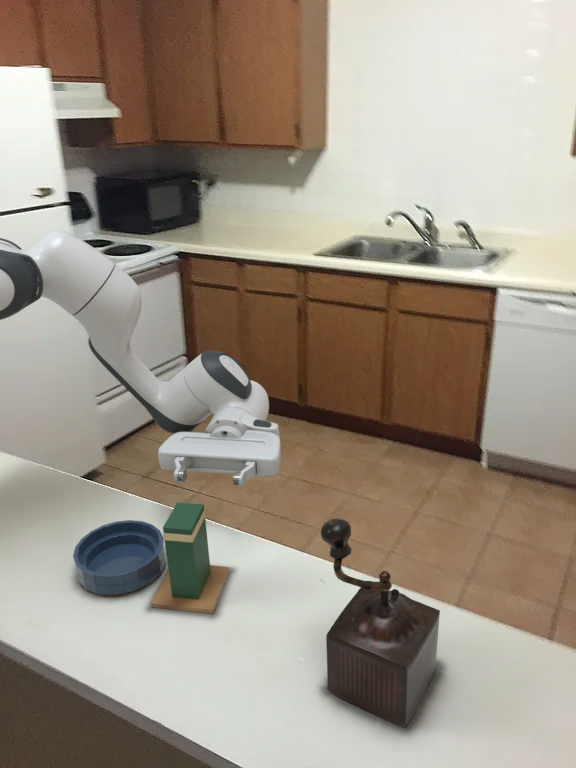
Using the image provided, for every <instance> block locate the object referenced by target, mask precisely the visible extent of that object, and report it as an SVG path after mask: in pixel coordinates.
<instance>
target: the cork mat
mask: <svg viewBox="0 0 576 768" xmlns="http://www.w3.org/2000/svg"><path fill="white" fill-rule="evenodd" d="M210 570H211V572H210V574H209V577H208V579H207V581H206V584H205V586H204V589H203V591H202V593H201V596H200V598H199V599H190V598H180V597H172V592H171V584H170V577H169V569H167V570H166V572H165V575H164V577H163V579H162V581H161V582H160V585H159V586H158V588H157V590H156V592H155V594H154V596H153V598H152V600H151V602H150V607H151V608H154V609H164V610H174V611H183V612H184V611H185V612H193V613H201V614H202V613H203V614H211V615H213V614H214V612H215V609H216V607H217V604H218V601H219V600H220V597H221V594H222V592H223V588H224V586H225V583H226V580H227V579H228V575H229V573H230V567H229V566H224V565H223V566H222V565H213V564H210Z"/></svg>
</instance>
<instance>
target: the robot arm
mask: <svg viewBox="0 0 576 768" xmlns="http://www.w3.org/2000/svg"><path fill="white" fill-rule="evenodd" d="M41 298H44V299H45V298H46V299H47V300H50V301H52V302H53V303H54V304H56V305H57V306H59V307H60V308H62V309H63V310H64V311H66V312H67V313H68V314H69V315H71V316H72V317H73V318H74V319H76V320H77V321H78V323H80V324H81V326H82V327H83V329H84V330H85V331H86V333H87V335H88V341H87V343H88V347H89V349H90V351H91V352H92V354H93V355H94V357H95V358H96V359H97V360H98V362H99V363H101V365H103V367H104V368H105V369H106V370H107V371H108V372H109V373H110V374H111V375H112V376H113V377H114V378H115V379H116V380H117V381H118V382H119V383H120V384H121V385H122V386H123V387H124V388H125V389H126V390H127V391H128V392H129V393H130V394H131V395H132V396H133V397H134V399H136V400H137V401H138V402H139V403H140V404H141V405H142V406H143V407H144V408H145V409H146V411H147V412H148V413H149V415H150V416H151V418H152V419H153V420H154V422H155V423H156V424H157V425H158V426H159V427H160V428H161V430H163V431H165V432H167V433H170V434H172V435H170V436H168V438H167V439H166V440H165V441H164V442H163V443H162V444H161V445H160V446H159V448H158V450H157V459H158V464H159V466H160V467H161V469H163V470H164V471H165V470H166V471H174V472H173V478H174V479H173V480H174V482H175V483H185V482H186V480H187V478H188V474H187V472H194V473H196V472H197V473H208V474H222V475H232V486H233V487H241V488H243V487H244V486H245V483H246V482H248V481H250V480H252V479H253V478H255V477H264V478H274V477H277V476H278V475H279V474H280V472H281V468H282V447H281V446H282V445H281V434H280V428H279V425H278V423H275V422H272V421H268V420H267V419H268V416H269V412H270V399H269V395H268V393H267V391H266V389H265V388H264V387H263V386H262V385H261V384H260V383H258V382H257V381H255V380H251V378H250V376H249V374H248V372H247V371H246V369H245V368H244V367H243V365H241V363H240V362H238V360H237V359H236V358H235V357H234V356H232V355H230V354H228V353H225V352H222V351H219V350H213V349H211V350H210V349H208V350H207V349H206V350H204V351H202V353H200V354H199V355H197V356H196V357H195V358H194V359H193V360H192V361H190V362H189V363H188V364H187V365H186V366H185V367H184V368H183V369H181V370H180V371H179V372H178V373H177V374H176V375H174V376H173V377H171V379H169V380H164V381H163V380H160V379H159V378H157V376H156V375H154V373H153V372H152V371H151V370H150V369H149V368H148V367H147V366H146V365H145V364H144V362H143V361H141V360H140V359H139V358H138V356H137V355H136V354H135V352H134V351H133V350H132V347H131V339H132V336H133V334H134V331H135V328H136V326H137V323H138V321H139V318H140V315H141V312H142V295H141V292H140V289H139V286H138V284H137V283H136V282H135V280H134V279H133V278H132V277H131V276H130V275H129V274H128V273H127V272H126V271H125V270H124V269H122V268H121V267H120V266H119V265H118V264H116V263H115V262H114V261H113V260H111V259H110V258H109V257H107V256H106V255H105V254H104V253H102V252H101V251H100V250H99V249H97V248H95V247H94V246H92V245H90V244H89V243H87V242H85V241H84V240H83V239H81V238H79V237H78V236H75V235H73V234H72V233H70V232H68V231H66V230H52V231H50V232H47V233H45V234H43V235H42V236H41V237H39V238H38V239H37V240H36V241H34V243H33V244H32V245H31V246H29V247H28V248H25V249H23V248H21V247H20V246H19V245H18V244H16V243H15V242H13V241H11V240H9V239H7V238H2V237H0V321H2V320H5V319H7V318H10V317H12V316H14V315H16V314H18V313H19V312H21V311H23V310H24V309H26V308H27V307H28V306H31V305H32V304H34V303H35V302H37V301H38V300H40V299H41ZM211 415H212V419H211V420H210V422H209V423H208V425H207V426H206V428H205V430H204V432H199V431H198V432H197V431H196V432H194V431H195V430H196V429H197V428H198V427H199V426H200V425H201V424H202V423H203V421H204V420H206V419H207V418H208V417H209V416H211Z"/></svg>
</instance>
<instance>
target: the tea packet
mask: <svg viewBox="0 0 576 768" xmlns="http://www.w3.org/2000/svg"><path fill="white" fill-rule="evenodd" d="M206 522H207V521H206V510H205V504H203V503H189V502H176V503H175V505H174V507H173V509H172V510H171V512H170V514H169V516H168V517H167V520H166V521H165V523H164V525H163V526H162V531H163V533H162V535H163V537H164V544H165V552H166V563H167V568H168V569H169V577H170V584H171V592H172V597H180V598H190V599H199V598H200V596H201V593H202V591H203V589H204V586H205V584H206V581H207V579H208V577H209V574H210V572H211V570H210V565H211V561H210V552H209V541H208V532H207V531H208V530H207V523H206ZM168 569H167V570H168Z"/></svg>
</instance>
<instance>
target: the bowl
mask: <svg viewBox="0 0 576 768" xmlns="http://www.w3.org/2000/svg"><path fill="white" fill-rule="evenodd" d="M72 558H73V562H74V567H75V572H76V577H77V579H78V583H80V584H81V585H82V587H83V588H84V589H85V590H87V591H89V592H92V593H95V594H97V595H98V594H99V595H109V596H112V595H121V594H127V593H130V592H133V591H136V590H139V589H142V588H143V587H145V586H146V585H149V584H150V583H152V582H153V581H154V580H155V579H156V578H157V577H159V575H160V574H161V573H162V571H163V569H164V568H165V566H166V563H167V554H166V547H165V540H164V536H163V533H162V531H161V530H160V529H159V528H158V527H156V526H155V525H154V524H151V523H149V522H147V521H143V520H131V519H125V520H117V521H113V522H109V523H106V524H103V525H101V526H99V527H96V528H95V529H93V530H91V531H89V532H88V533H87V534H85V535H84V536H83V537H82V538H80V540H79V542H78V543H77V544H76V546H75V547H74V551H73V555H72Z"/></svg>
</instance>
